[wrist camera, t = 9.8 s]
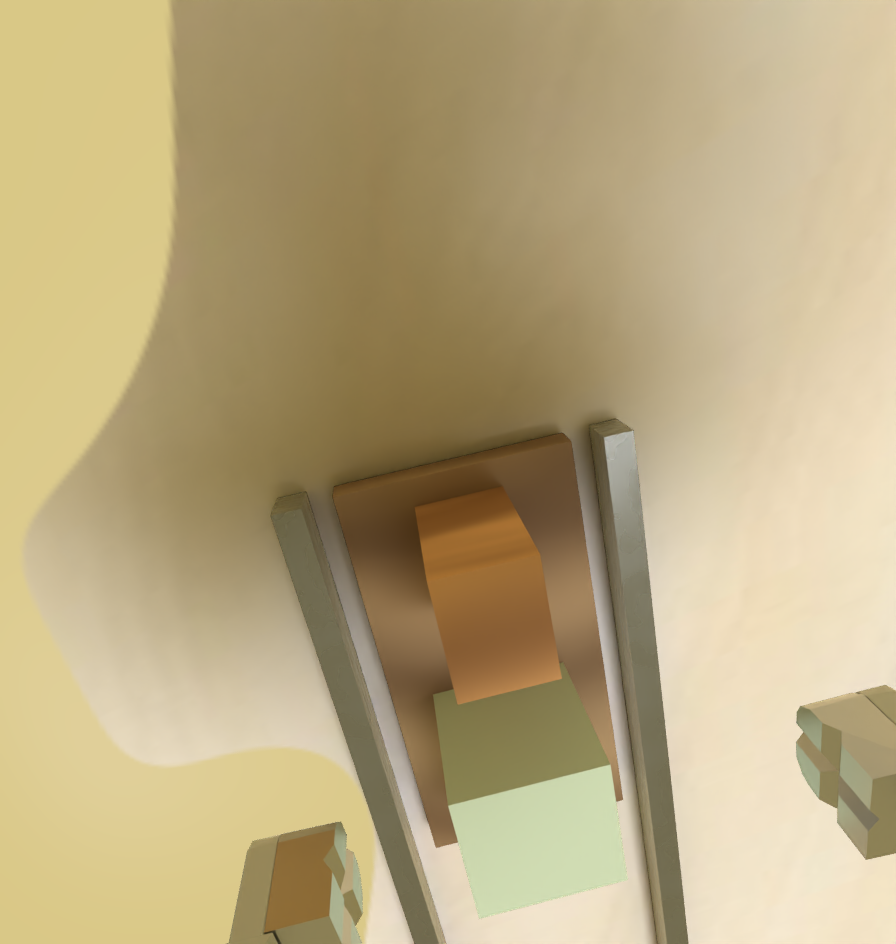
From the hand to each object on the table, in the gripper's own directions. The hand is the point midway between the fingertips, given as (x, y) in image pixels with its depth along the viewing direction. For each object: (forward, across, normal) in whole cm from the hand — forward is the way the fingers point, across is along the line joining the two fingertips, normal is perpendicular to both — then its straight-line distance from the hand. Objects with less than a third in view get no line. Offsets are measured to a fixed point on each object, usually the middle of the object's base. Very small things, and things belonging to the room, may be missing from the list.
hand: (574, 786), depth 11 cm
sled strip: (+12, +1, +6) cm, 13 cm away
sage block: (+11, 0, +9) cm, 14 cm away
